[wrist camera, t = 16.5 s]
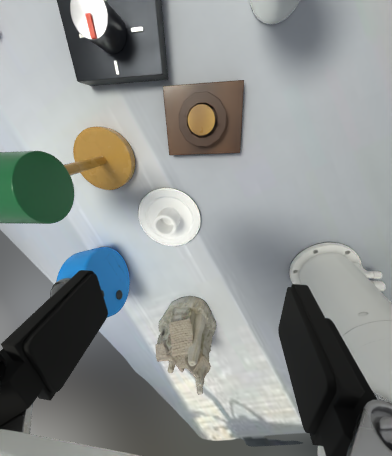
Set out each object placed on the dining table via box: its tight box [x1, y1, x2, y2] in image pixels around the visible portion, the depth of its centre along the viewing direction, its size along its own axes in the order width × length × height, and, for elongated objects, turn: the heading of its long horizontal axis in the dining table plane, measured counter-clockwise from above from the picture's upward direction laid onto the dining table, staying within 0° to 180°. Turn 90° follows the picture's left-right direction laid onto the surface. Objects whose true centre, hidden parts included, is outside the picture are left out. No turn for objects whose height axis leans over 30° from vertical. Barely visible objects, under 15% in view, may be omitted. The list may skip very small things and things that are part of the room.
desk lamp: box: [0, 127, 135, 224], centre depth 25 cm, size 10×10×22 cm
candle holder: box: [138, 188, 201, 246], centre depth 36 cm, size 12×12×4 cm
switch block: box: [163, 80, 244, 155], centre depth 28 cm, size 11×9×4 cm
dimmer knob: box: [70, 0, 126, 54], centre depth 22 cm, size 4×4×5 cm
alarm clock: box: [50, 247, 130, 317], centre depth 38 cm, size 13×6×15 cm, turn 17°
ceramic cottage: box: [156, 296, 216, 395], centre depth 45 cm, size 16×16×15 cm
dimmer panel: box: [57, 0, 168, 86], centre depth 25 cm, size 12×9×3 cm
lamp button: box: [188, 104, 215, 136], centre depth 26 cm, size 4×4×2 cm
